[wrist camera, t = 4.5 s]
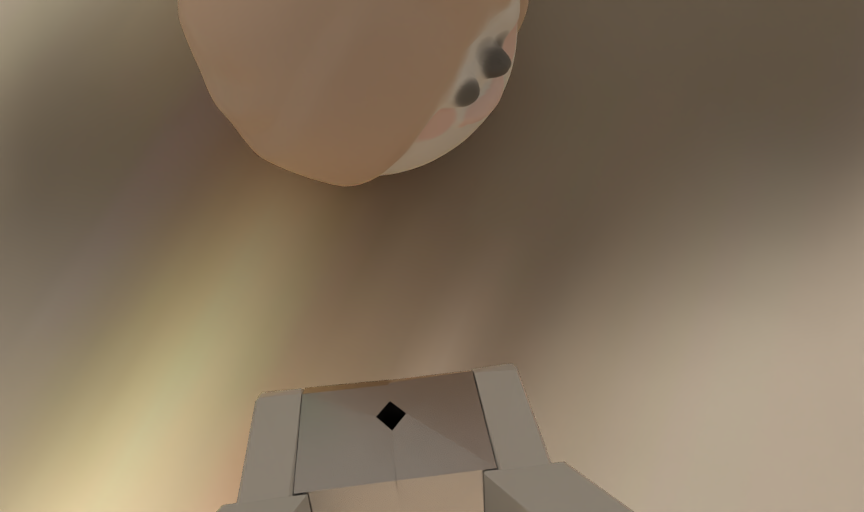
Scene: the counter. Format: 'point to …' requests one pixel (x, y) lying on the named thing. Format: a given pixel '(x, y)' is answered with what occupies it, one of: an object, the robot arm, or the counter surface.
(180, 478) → the counter surface
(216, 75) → the garlic bulb
